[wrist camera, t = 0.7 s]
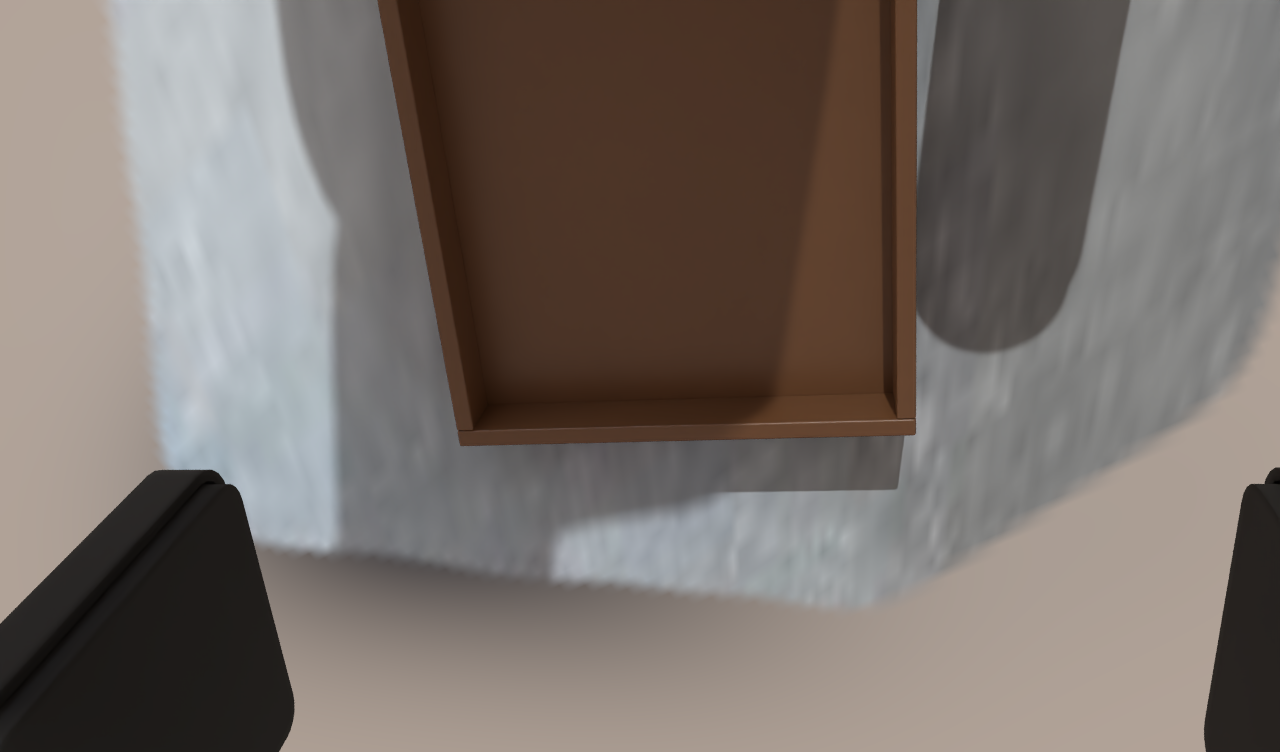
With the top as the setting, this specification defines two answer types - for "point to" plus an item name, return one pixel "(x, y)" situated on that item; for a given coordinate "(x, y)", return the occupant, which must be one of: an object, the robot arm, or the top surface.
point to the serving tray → (665, 214)
